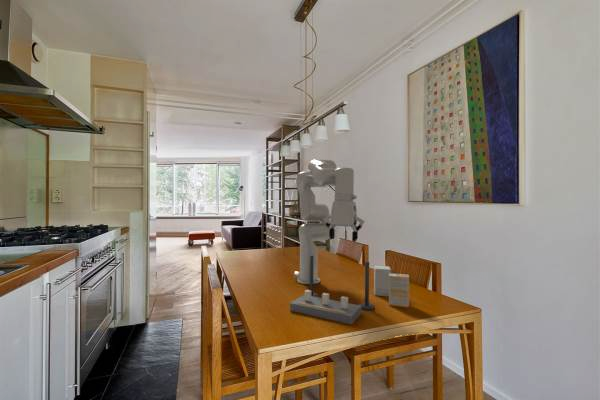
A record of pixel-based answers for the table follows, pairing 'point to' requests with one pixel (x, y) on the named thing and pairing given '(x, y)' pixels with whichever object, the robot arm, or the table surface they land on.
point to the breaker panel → (326, 309)
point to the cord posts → (365, 305)
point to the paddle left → (307, 295)
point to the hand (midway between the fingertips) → (343, 240)
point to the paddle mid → (325, 298)
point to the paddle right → (344, 302)
